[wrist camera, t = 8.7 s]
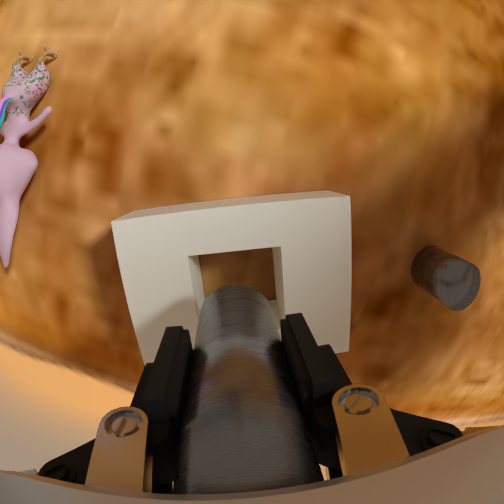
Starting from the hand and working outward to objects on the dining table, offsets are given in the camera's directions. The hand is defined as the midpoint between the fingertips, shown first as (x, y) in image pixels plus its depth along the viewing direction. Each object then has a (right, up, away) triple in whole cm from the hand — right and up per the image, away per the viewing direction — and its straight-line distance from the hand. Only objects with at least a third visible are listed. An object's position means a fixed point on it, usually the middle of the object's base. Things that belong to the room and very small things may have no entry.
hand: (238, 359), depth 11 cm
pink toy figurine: (-16, +11, +7) cm, 20 cm away
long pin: (0, +1, +3) cm, 3 cm away
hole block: (0, +3, +9) cm, 10 cm away
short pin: (+14, +3, +10) cm, 17 cm away
